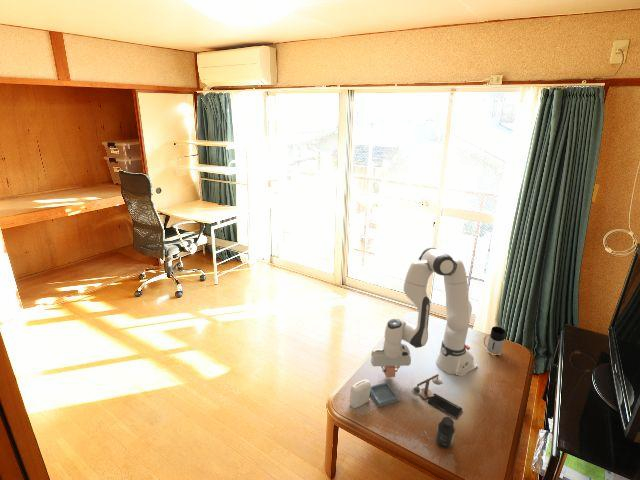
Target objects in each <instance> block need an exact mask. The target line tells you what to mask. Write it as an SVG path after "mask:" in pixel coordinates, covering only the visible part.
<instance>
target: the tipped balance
mask: <svg viewBox="0 0 640 480" xmlns="http://www.w3.org/2000/svg"><path fill="white" fill-rule="evenodd" d="M439 376H440V375H439V373H436V374H435V375H433V376H431V377H428V378H426V379H425V380H423V381H421V382H419V383H417V385H416V386H414V387H413V388H411V394H412V395H414V396H415V397H419V396H420V397H421V399H423V401H425V400H428V399H429V398H430V397H434V393H433V392H432V391H431V389H429V387H430V383H431V382H430V381H432V383H433V384H434V385H436V386H437V385H439V386H440V385H442V384H443V379H442V377H439ZM422 385H424V387H423V388H421V387H420V386H422Z"/></svg>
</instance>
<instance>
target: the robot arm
mask: <svg viewBox="0 0 640 480" xmlns="http://www.w3.org/2000/svg"><path fill="white" fill-rule="evenodd" d="M433 273H435V274H437V275H440V276H443V281H444V288H445V289H444V290H445V291H444V292H445V311H446V324H445V329H444V335H443V340H442V341H441V345H440V346H441V347H440V350H439V352H438V353H437V358H436V361H435V362H436V365H437V367H438V368H439V369H440V370H441V371H442V372H445V373H447V374H452V375H455V374H456V376H457V375H458V377H462V376H464V375H466V374H468V373H470V372H471V370H472V371H474V370H475V369H474V368H476V367H477V368H478V364H477V362H476V361H475V360H474V358H475V357H474V355H473V354H472V353H471V352H470V350H471V347H470V346H469V345H468V344H467V345H466V341H467V340H466V339H467V335H468V331H469V325H470V321H471V316H472V312H473V311H472V310H473V307H472V303H471V301H470V300H469V287H468V278H467V272H466V269H465V266H464V263H463V261H462V260H460V259H458V258H453V257H452V256H451V255H449V254H448V253H446V252H444V251H442V250H440V249H437V248H434V247H428V248H425V249H424V250H423V251H422V253H421V254H420V256H419V257H418V260H414V261H412V262H411V264H410V266H409V267H408V270H407V273H406V275H405V279H404V283H403V292H404V294H405V296H406V297H407V298H408V300H410V301H411V302H412V303H413V305H414V306H415V307H416V309H417V313H418V314H417V315H418V316H417V325H416V324H414V323H412V322H410V321H408V320H407V319H405V318H399V319H398V318H397V319H396V318H391V319H389V320H388V321H387V322H386V325H385V330H384V336H383V337H384V341H383V346H382V347H383V348H382V349H381V348H379V349H377V348H375V349H374V350H372V351H371V358H370V363H371V365H372V366H373V367H381V371H382V373H384V372H386V369H385V367H384V366H395V367H396V373H397V372H398V370H400V368H401V367H402V366H406V367H408V366H410V365H411V364H412V363H411V362H412V358H411V351H410V349H409V346H408V345H407V344H403V343H402V341H405V342H406V343H408V344H409V345H410V346H412V347H414V348H416V349H418V348H422V347H424V346H425V345H427V342H428V340H429V331H428V330H429V328H428V327H429V318H430V309H431V308H430V307H431V306H430V305H431V301H430V298H429V297H428V294H427V293H428V292H427V291H428V290H427V288H428V284H429V279H430V276H431V275H432V274H433ZM474 363H475V364H474ZM477 368H476V369H477ZM473 369H474V370H473ZM469 371H470V372H469ZM467 372H468V373H467Z"/></svg>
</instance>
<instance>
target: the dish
mask: <svg viewBox="0 0 640 480" xmlns="http://www.w3.org/2000/svg"><path fill="white" fill-rule="evenodd" d="M370 397H372V399H373V401H374V402H375V404H376V406H377V407H378V408H379V407H384V406H387V405H390V404H394V403H397V402H399V401H400V400H399V399H400V397H399V396H398V393H396V391H395V390H394V388H393V387H392V386H391V385H390V383H389V382H388V381H385V382H382V383H378V384H374V385H371V387H370Z"/></svg>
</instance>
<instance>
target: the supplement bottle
mask: <svg viewBox="0 0 640 480" xmlns="http://www.w3.org/2000/svg"><path fill="white" fill-rule="evenodd" d="M454 425H455V422H454V419H452V417H449V416H444V417H442V419H441V421H439V422H438V424H437V429H436V435H435V442H436V444H437V446H439V447H440V448H442V449H449V448H451V447H452V445H453V442H454V441H453V440H454V436H455V433H456V432H455V431H456V428H455V426H454Z"/></svg>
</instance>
